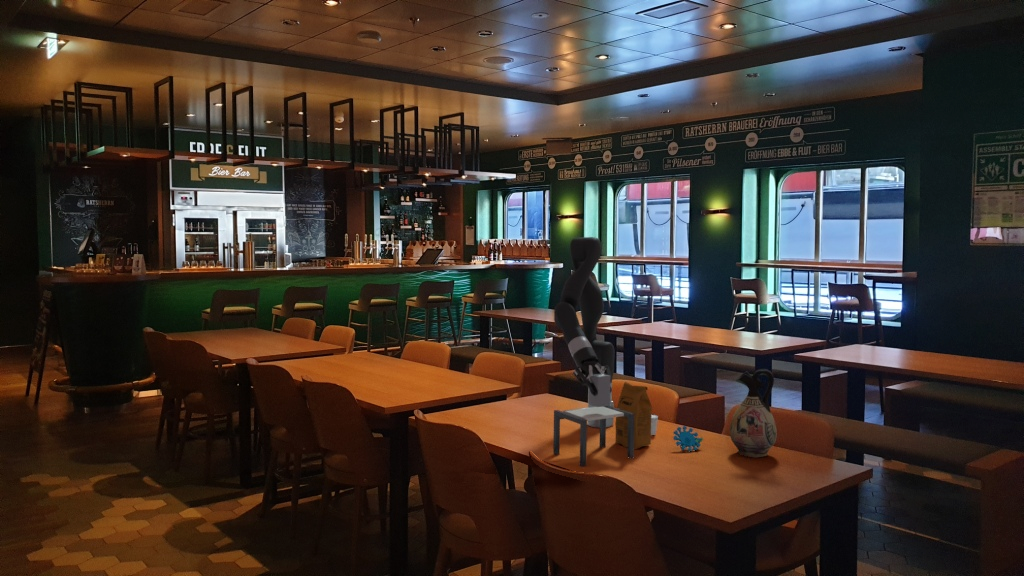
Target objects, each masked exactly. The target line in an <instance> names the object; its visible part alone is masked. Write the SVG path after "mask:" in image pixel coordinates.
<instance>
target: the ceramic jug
mask: <svg viewBox="0 0 1024 576" xmlns="http://www.w3.org/2000/svg"><path fill="white" fill-rule="evenodd" d="M759 376H765V377H767V378H768V384H767V387H766V390H765V392H764V393H763V396H762V395H761V393H760V390H759V389H762V388H764V387H765V385H764V383H763V381H762V380H761V379H759ZM735 381H736V382H737V383H739V384H742V385H744V386H745V387H747V389H748V392H747V395H746V396H745V398H744V399H743V400H742V402H741V403H740V404H739V406H738V407H737V409H736V410H735V412H734V414H733V416H732V419H731V421H730V425H729V437H730V439H731V441H732V443H733V445H734V446H735V447H736V449H737V453H738V454H739V455H740V454H741V455H740V456H743V455H744V457H747V456H748V457H749V458H763V457H766V456H768V452H769V450H770V449H771V448H772V447H773V446H774V445H775V444H776V440H777V436H778V435H777V433H778V432H777V431H778V430H777V425H776V421H775V418H774V416H773V414H772V412H771V408H770V404H769V398H770V395H771V392H772V389H773V388H774V384H775V376H774V374H773V373H772V371H771V370H769V369H767V368H761V369H757V370H755V372H754V373H753V374H752V375H751V374H750V372H748V370H747V371H746V370H745V372H743V373H742V374H740V375H739V376H738V377H737V378H736V380H735Z"/></svg>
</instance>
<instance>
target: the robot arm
mask: <svg viewBox="0 0 1024 576" xmlns="http://www.w3.org/2000/svg"><path fill="white" fill-rule="evenodd" d="M602 249H603V248H602V242H601V240H600V238H598V237H596V236H594V237H593V236H585V237H573V238H572V239H571V241H570V244H569V252H570V257H571V263H572V267H573V271H574V272H572V274H570V276H568V278H567V279H566V281H565V283H564V286H563V287H562V288H563V289H562V291H561V293H560V294H561V295H560V302H558V303H557V304H556V305H555V307H554V310H553V315H554V316H553V320H554V321H553V322H554V325H555V326H556V327H557V328H558V329H560V330H562V335H563V339H564V341H565V343H566V345H567V347H568V350H569V352H570V355H571V357H572V359H573V361H574V363H575V366H576V368H575V369H574V371H573V372H572V374H573V375H574V377H575V378H576V379H577V381H578V382H579V384H580V385H581V386H582V387H584V386H586V387H587V390H588V393H587V398H588V399H587V408H589V407H596V406H593V405H590V404H589V389H590V392H591V393H592V394H593V396H596V395H597V393H598V391H597V389H596V387H595V385H594V383H593V380H592V378H591V375H593V374H605V375H609V376H611V378H610V406H611V407H614V408H615V406H614V403H615V402H614V400H613V398H612V395H613V392H612V391H613V376H614V372H615V371H614V370H615V357H616V356H615V355H616V354H615V353H616V352H615V347H614V345H613V343H612V342H609V341H600V340H597V326H598V324H599V322H600V320H601V318H602V317H603V315H604V314H603V313H604V310H605V308H604V307H605V305H604V297H603V293H602V290H601V288H600V287H599V286H598V284H597V283H596V282H595V280H594V279H593V278H592V277H591V275H592V273H593V271H594V269H595V268H596V265H597V263H598V262H599V260H600V258H601V255H602ZM578 306H579V310H580V316H581V323H582V327H581V325H580V324H581V323H580V320H579V319H578V315H577V311H578ZM587 426H589V427H592V428H599V429H600V419H598V420H591V421H587ZM611 426H614V417H613V418H606V428H610V427H611Z"/></svg>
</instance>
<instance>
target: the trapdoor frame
mask: <svg viewBox="0 0 1024 576" xmlns="http://www.w3.org/2000/svg"><path fill="white" fill-rule="evenodd" d="M603 407H606V408H609V409H612V410H616V411H619V412H622V413H624V417H627V418H628V447H626V449H627V450H626V452H627V453H626V454H627V455H626V457H629V458H628V459H630V458H631V459H634V458H635V455H634V454H635V452H634V451H635V449H634V415H635V414H634V413H630V412H627V411H624V410H621V409H617V407H615V406H614V407H611V406H603ZM561 420H568V421H570V422H573V423H576V424H579V425H580V426H579V427H580V428H579V429H580V430H579V432H580V433H579V466H580V467H587V444H588V443H587V442H588V441H587V440H588V436H587V434H588V431H587V430H588V421H587V420H585V419H582V418H579V417H576V416H574V415H571V414H568V413H565V412H563V410H560V409H554V410H553V447H552V448H553V451H552V453H553V455H554V456H557V455H558V456H559V455H560V445H561V443H560V441H561V439H560V436H561ZM606 436H607V427H606V419H600V428H599V447H600V448H602V447H603V448H606V442H607V441H606ZM633 457H634V458H633Z"/></svg>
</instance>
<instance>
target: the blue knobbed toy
mask: <svg viewBox="0 0 1024 576" xmlns="http://www.w3.org/2000/svg"><path fill="white" fill-rule="evenodd" d="M687 428H688V426H684V425H683V426H682V427H681V426H678V427H676V429H675V430H674V431H673V435H674V436H673V440H674V441H676V442H675V444H676V446H680V449H681V450H682V451H685V450H686V448H687V447H688V448H687V450H686V451H687V452H688V451H691V452H692V450H697V451H698V449H699V448H700V446H701V444H700V443H701V442H703V441H704V438H703V436H702V437H698V436H699V433H698V432H697V431H696V432H693V431H694V429H693V428H692V427H690V428H689V429H688V431H686V430H687ZM682 430H683V431H682ZM692 432H693V433H692ZM681 446H682V447H681ZM692 447H693V448H692Z"/></svg>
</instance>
